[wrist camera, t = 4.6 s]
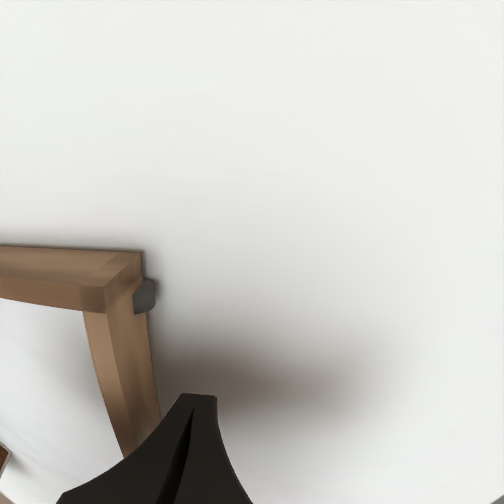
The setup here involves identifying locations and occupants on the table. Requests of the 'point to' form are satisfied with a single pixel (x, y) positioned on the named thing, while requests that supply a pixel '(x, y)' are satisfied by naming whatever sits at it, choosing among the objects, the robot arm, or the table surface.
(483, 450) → the table surface
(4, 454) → the food container
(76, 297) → the wooden u-shaped frame
